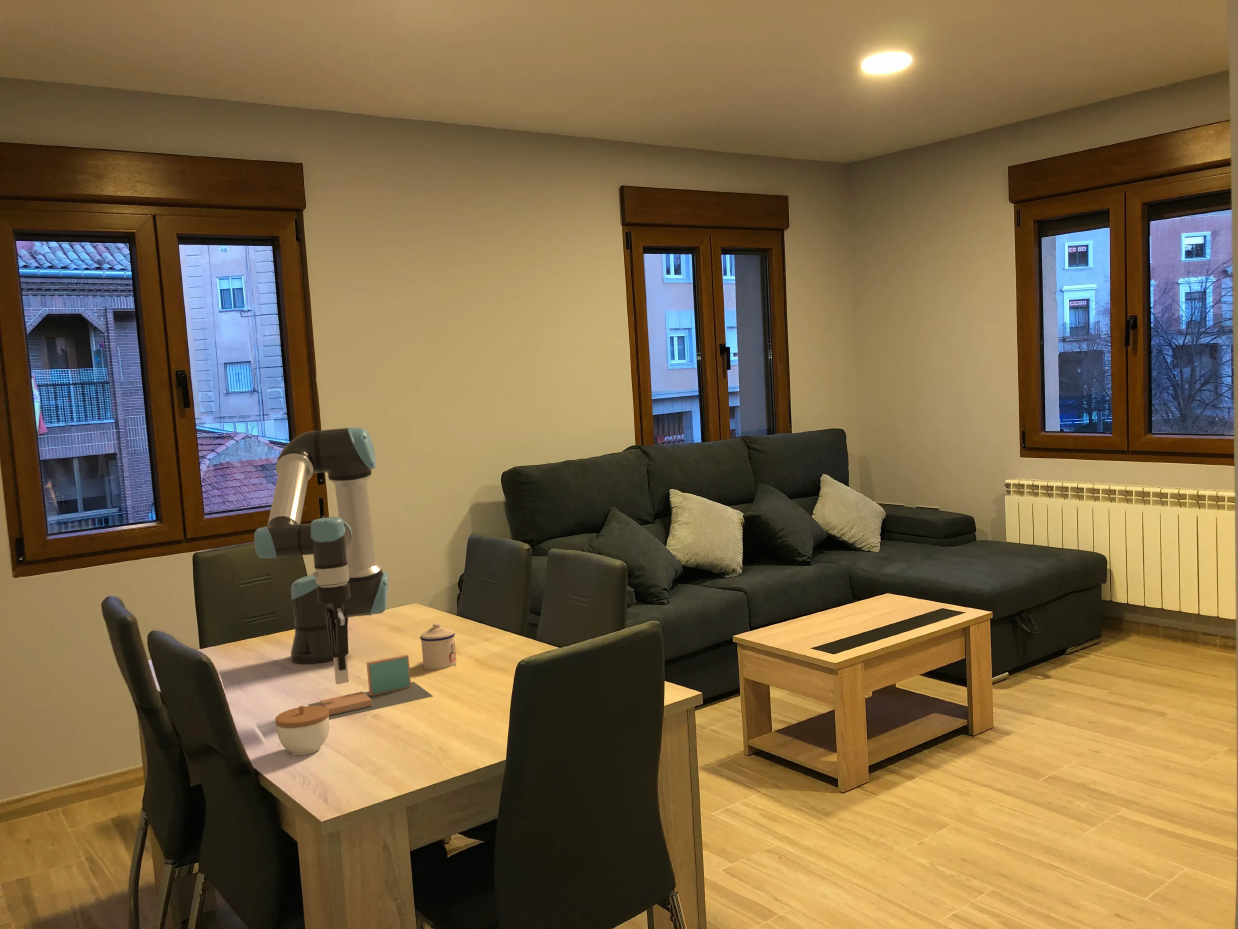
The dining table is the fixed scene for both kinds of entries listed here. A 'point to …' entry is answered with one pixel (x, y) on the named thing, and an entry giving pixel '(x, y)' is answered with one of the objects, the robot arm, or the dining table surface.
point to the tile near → (346, 703)
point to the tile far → (388, 675)
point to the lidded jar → (303, 729)
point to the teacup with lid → (438, 648)
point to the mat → (387, 699)
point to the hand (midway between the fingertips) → (342, 682)
